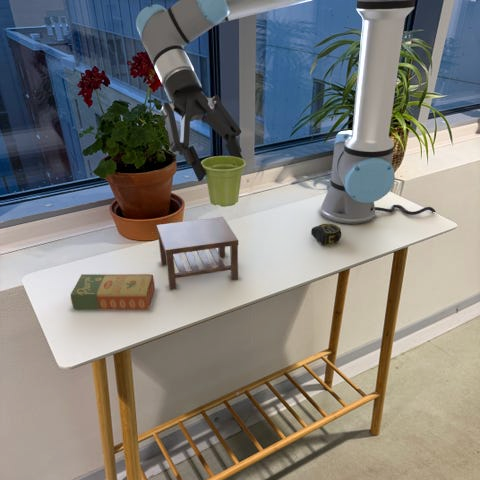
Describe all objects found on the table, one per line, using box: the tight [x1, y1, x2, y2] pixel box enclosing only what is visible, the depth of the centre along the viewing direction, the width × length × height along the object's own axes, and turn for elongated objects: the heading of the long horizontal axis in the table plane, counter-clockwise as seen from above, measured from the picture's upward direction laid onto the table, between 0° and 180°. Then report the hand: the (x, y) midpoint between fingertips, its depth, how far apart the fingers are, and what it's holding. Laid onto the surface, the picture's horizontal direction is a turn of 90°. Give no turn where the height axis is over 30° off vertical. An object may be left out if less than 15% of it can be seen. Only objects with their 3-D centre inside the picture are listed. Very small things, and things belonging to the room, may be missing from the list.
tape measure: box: [310, 223, 342, 247], centre depth 126 cm, size 7×7×4 cm
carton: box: [70, 273, 156, 311], centre depth 104 cm, size 8×16×4 cm, turn 89°
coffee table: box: [156, 216, 239, 291], centre depth 112 cm, size 16×13×10 cm
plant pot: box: [200, 155, 247, 208], centre depth 104 cm, size 9×9×9 cm
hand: (222, 172), depth 103 cm, fingers closed on plant pot, 9 cm apart
